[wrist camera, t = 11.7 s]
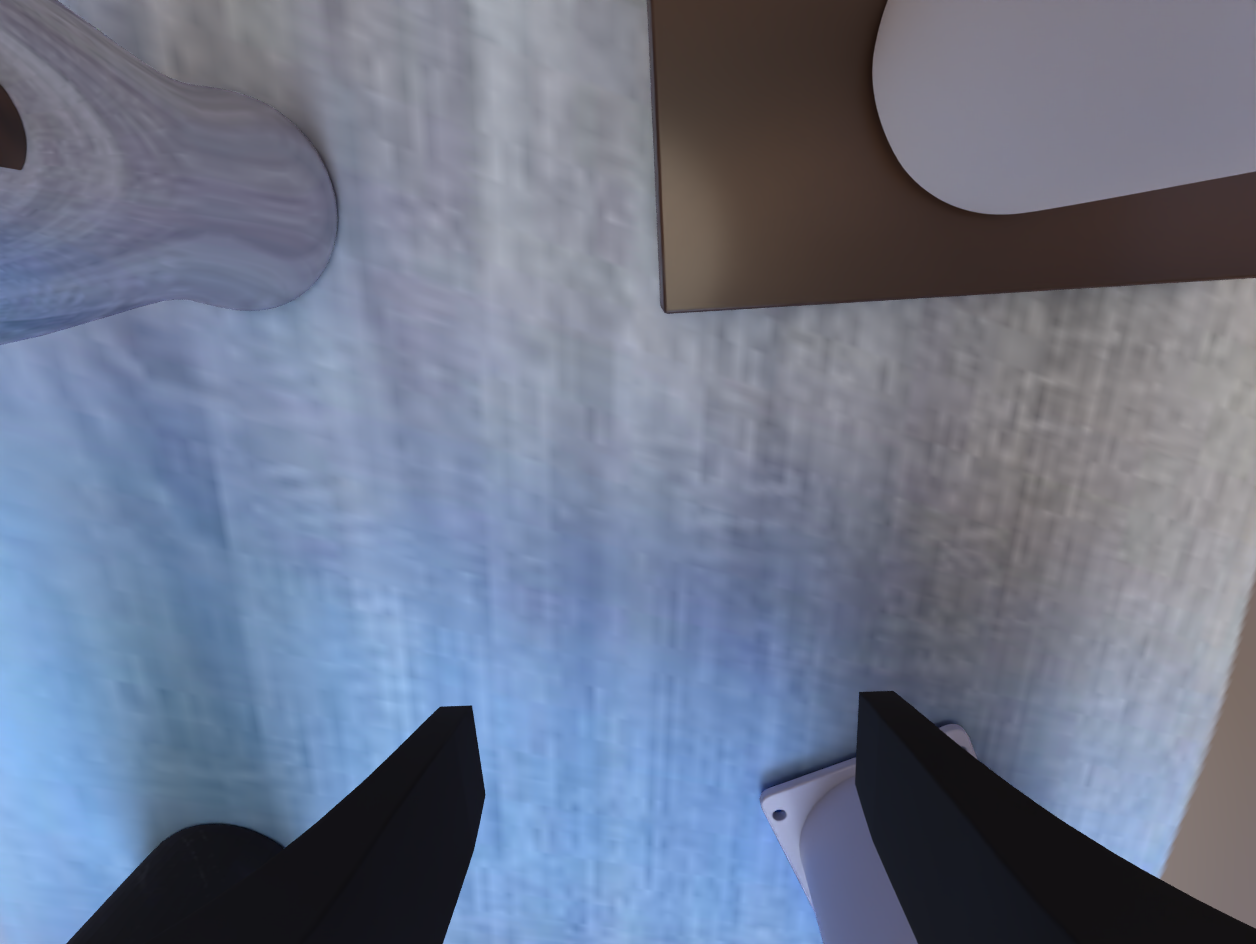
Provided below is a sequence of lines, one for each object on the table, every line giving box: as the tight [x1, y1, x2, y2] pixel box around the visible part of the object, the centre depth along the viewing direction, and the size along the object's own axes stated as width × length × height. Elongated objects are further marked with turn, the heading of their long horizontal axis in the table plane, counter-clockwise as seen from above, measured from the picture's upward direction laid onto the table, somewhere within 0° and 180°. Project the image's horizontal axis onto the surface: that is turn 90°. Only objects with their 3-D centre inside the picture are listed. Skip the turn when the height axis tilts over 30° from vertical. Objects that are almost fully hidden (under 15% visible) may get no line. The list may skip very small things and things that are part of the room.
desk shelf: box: [647, 0, 1256, 314], centre depth 16 cm, size 10×16×5 cm, turn 93°
